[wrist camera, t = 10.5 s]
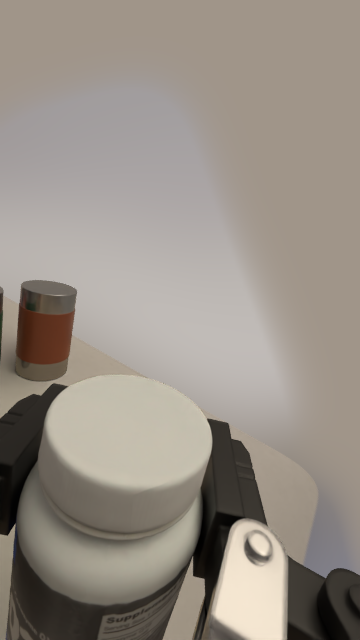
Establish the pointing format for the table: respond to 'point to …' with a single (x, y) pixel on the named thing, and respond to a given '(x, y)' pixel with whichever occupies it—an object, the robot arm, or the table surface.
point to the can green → (1, 316)
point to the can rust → (44, 329)
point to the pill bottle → (109, 512)
